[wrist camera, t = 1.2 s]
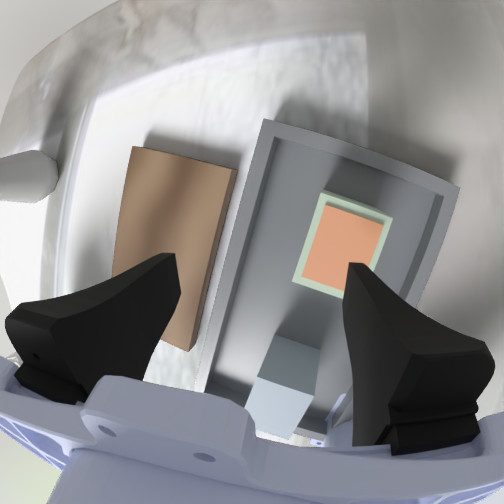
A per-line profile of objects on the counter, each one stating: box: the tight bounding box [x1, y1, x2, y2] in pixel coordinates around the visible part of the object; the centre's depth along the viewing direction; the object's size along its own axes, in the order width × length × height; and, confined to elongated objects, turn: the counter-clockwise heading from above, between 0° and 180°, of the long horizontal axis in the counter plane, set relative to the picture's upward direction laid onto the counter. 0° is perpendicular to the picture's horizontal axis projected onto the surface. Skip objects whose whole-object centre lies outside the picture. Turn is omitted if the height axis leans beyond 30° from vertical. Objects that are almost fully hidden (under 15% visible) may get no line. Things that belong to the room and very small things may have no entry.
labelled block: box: [292, 189, 393, 299], centre depth 18 cm, size 4×5×6 cm
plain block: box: [244, 334, 320, 440], centre depth 22 cm, size 4×5×6 cm
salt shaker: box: [0, 150, 59, 203], centre depth 22 cm, size 6×6×13 cm
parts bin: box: [193, 119, 460, 442], centre depth 22 cm, size 14×24×2 cm, turn 164°
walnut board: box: [112, 146, 238, 352], centre depth 25 cm, size 9×16×2 cm, turn 164°
